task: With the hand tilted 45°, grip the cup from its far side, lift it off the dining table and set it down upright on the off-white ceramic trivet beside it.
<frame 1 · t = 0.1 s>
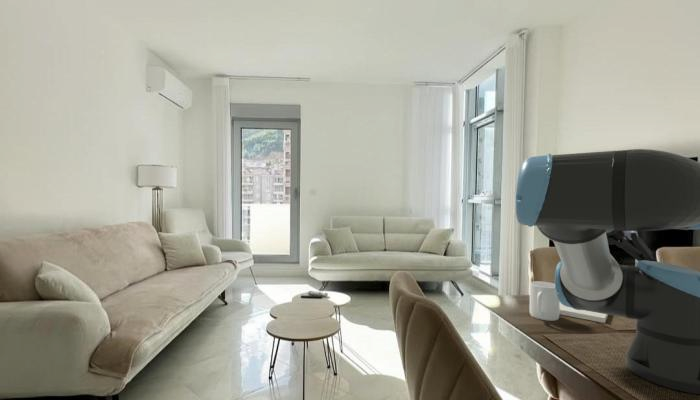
hand: (607, 272, 104), 15 cm above the table, tool tilted 35°, fingers open, 13 cm apart
trivet: (581, 311, 115), on the table
cup: (542, 318, 109), on the table
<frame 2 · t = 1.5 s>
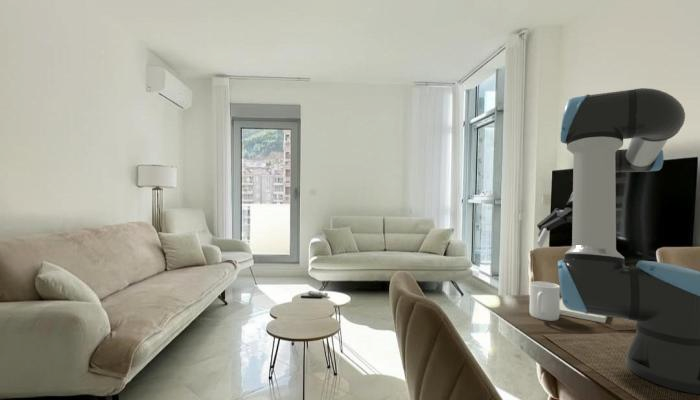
hand: (559, 247, 115), 21 cm above the table, tool tilted 45°, fingers open, 13 cm apart
nothing on the table moved.
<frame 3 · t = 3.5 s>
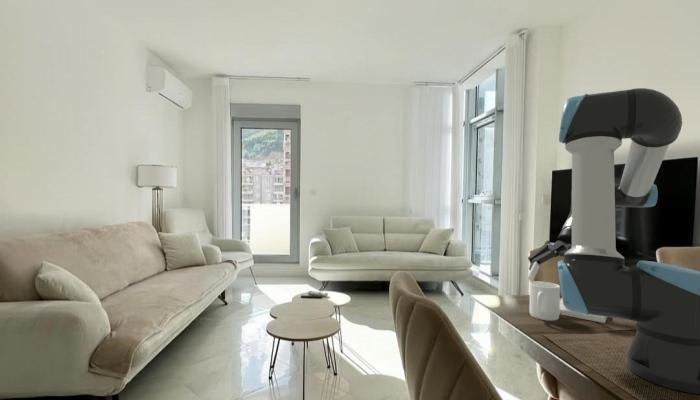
hand: (550, 283, 112), 10 cm above the table, tool tilted 45°, fingers open, 13 cm apart
nothing on the table moved.
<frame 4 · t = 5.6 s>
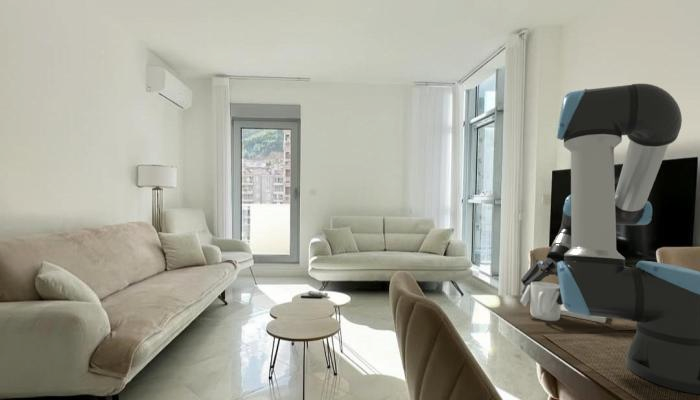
hand: (536, 307, 107), 4 cm above the table, tool tilted 45°, fingers closed on cup, 8 cm apart
cup: (543, 318, 108), on the table, touching gripper
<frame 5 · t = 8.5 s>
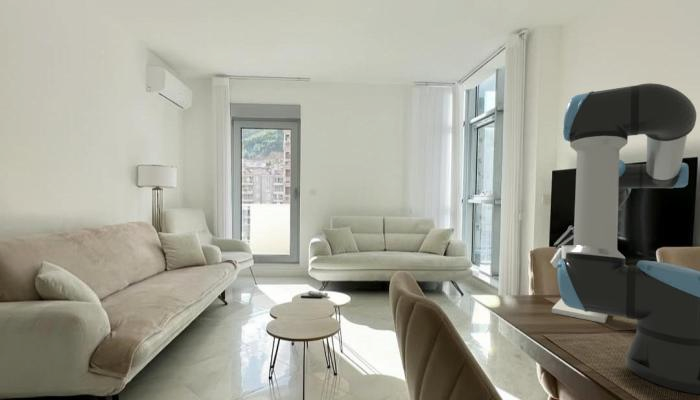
hand: (565, 267, 113), 15 cm above the table, tool tilted 45°, fingers closed on cup, 8 cm apart
cup: (573, 279, 113), point 11 cm above the table, touching gripper
when the fingers open (7 cm above the table, at t = 11.1 s): cup drops 1 cm, resting on trivet.
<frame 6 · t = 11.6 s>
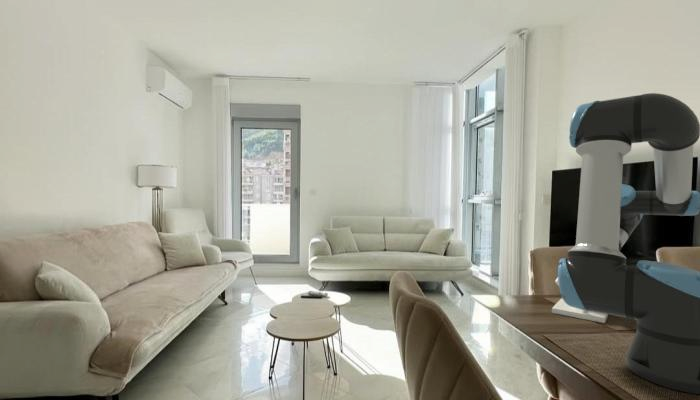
hand: (576, 289, 114), 8 cm above the table, tool tilted 45°, fingers open, 13 cm apart
cup: (582, 308, 114), point 1 cm above the table, touching trivet
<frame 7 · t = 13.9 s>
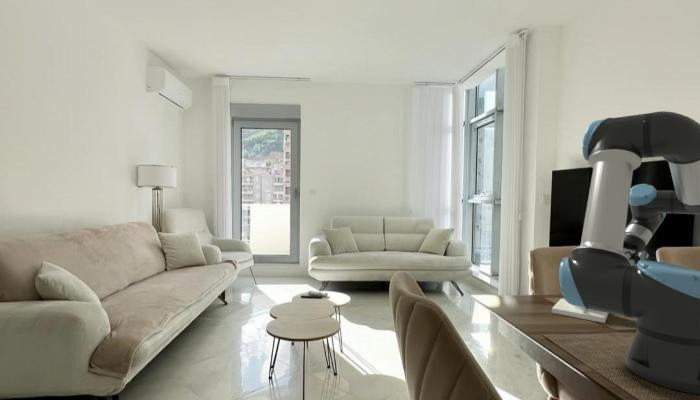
hand: (602, 286, 118), 8 cm above the table, tool tilted 45°, fingers open, 13 cm apart
nothing on the table moved.
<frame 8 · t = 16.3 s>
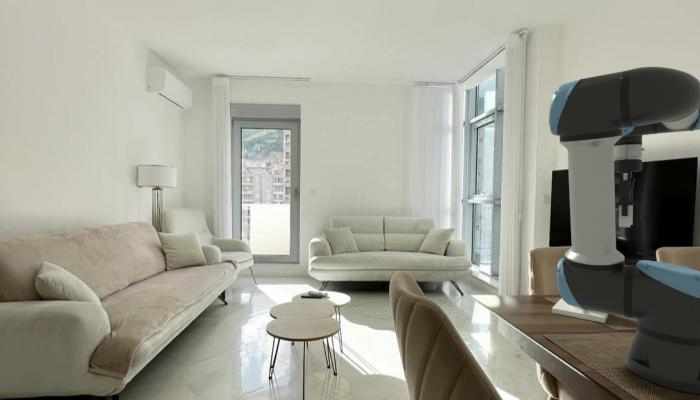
hand: (626, 225, 112), 29 cm above the table, tool pointing down, fingers open, 13 cm apart
nothing on the table moved.
at the end: cup inside the target area on the trivet (0.6 cm from its centre), point 1.3 cm above the trivet's base; cup tilted 0°; the gripper is holding nothing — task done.
